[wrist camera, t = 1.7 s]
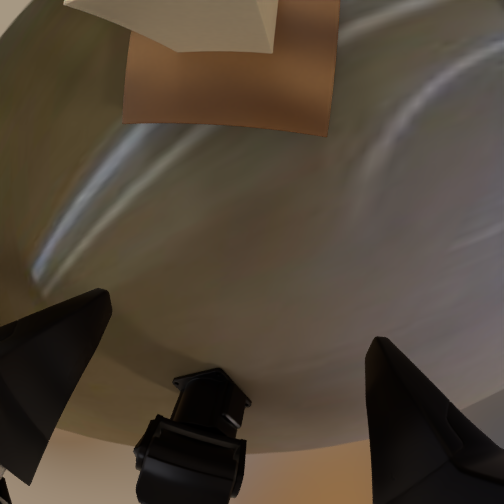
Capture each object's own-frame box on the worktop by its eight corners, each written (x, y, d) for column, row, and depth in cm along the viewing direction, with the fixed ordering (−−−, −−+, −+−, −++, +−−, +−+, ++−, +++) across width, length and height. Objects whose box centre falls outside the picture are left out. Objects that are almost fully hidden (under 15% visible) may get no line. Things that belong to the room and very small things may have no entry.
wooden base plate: (322, 135, 17) (326, 137, 15) (140, 122, 18) (121, 123, 16) (336, -44, 11) (341, -61, 9) (164, -44, 12) (151, -57, 9)
